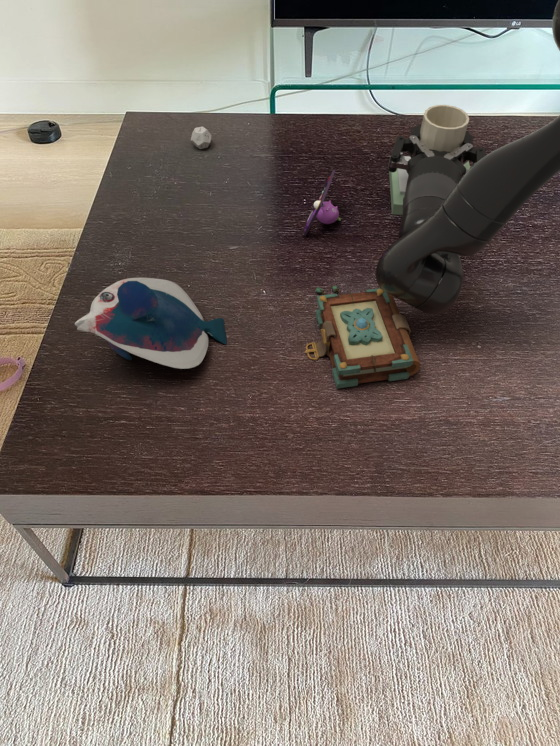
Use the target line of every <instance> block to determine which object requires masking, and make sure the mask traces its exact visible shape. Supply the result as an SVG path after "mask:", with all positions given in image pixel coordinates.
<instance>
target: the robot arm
mask: <svg viewBox="0 0 560 746" xmlns="http://www.w3.org/2000/svg"><path fill="white" fill-rule="evenodd" d="M551 30H552V37H553V40H554V41H553V42H554V43H555V46H556V48H557V50H558V51H559V52H560V0H558V1H557V2H556V5H555V7H554V11H553V14H552V21H551ZM421 125H422V123H417V124H416V126H413V127H411V131H410V135H409V137H408V138H406V137H405V136H403V135H399V136H397V137H396V140H395V143H394V146H393V148H392V151H391V153H390V156H391V157H390V156H389V161H390V163H389V162H388V169H387V171H388V172H389V171H390V172H396V170H397V168H398V169H404V170H406V171H407V173H408V180H407V185H406V190H405V195H404V198H403V215H401V220H400V226H399V231H398V239H397V240H395V241H394V242H393V243H392V244H390V245H389V246H388V247H387V248H386V250H385V251H384V252H383V253H382V255H381V256H380V257H379V259H378V262H377V264H376V267H375V281H376V283H377V286H378V287H379V288H381V289H382V290H384V291H385V292H387V293H388V294H390V295H392V296H393V297H394V298H396V299H397V300H400V301H402V302H403V303H405V304H407V305H408V306H411V307H412V308H415V309H416V310H418V311H420V312H421V313H424V314H427V315H430V316H431V315H432V316H436V315H441V314H443V313H445V312H447V311H449V310H450V309H451V308H452V307H453V306H454V305H455V304H456V302H457V301H458V299H459V297H460V295H461V292H462V290H463V285H464V268H463V263H462V260H461V256H463V257H473V256H476V255H478V254H479V253H480V252H481V251H482V250H484V249H485V247H487V245H488V244H489V243H490V242H491V241H492V240H493V239H494V238H495V237H496V235H497V234H498V233H499V232H500V231H501V230H502V229H503V228H504V227H505V226H506V225H507V223H508V222H509V221H510V220H511V219H512V218H513V217H514V215H516V213H517V212H518V211H519V210H520V209H521V208H522V207H523V206H524V205H525V204H526V203H527V202H528V200H529V199H531V198H532V197H533V196H534V195H535V194H536V193H537V192H538V191H539V190H540V189H541V188H542V187H543V186H544V185H545V184H546V183H547V182H549V181H550V180H551V179H552V178H553V177H554V176H555V175H556V174H558V173H559V172H560V115H558V116H557V117H556V118H554V119H552V120H551V121H550V122H549V123H547V124H546V125H544V126H542V127H540V128H538V129H537V130H535V131H533V132H531V133H529V134H527V135H525V136H523V137H521V138H519V139H515V140H513V141H512V142H510V143H509V142H508V143H507V144H505V145H503V146H501V147H498V148H497V149H495V150H493V151H491V152H489V153H487V154H486V149H485V148H484V147H482V146H481V147H480V146H478V147H477V148H476V147H474V145H473V144H474V136H473V134H470V132H471V131H469V130H466V134H465V137H464V141H463V144H462V147H457V148H456V149H454V150H453V151H452V152H446V151H436V150H432V149H429V148H428V147H427V146H426V144H425V143H424V142H421V141H420V140H419V136H420V130H421ZM404 152H405V153H407V155H408V156H410V157H411V159H409V161H406V160H405V157H404V156H405V155H404ZM468 161H469V162H472V165H470V169H468V170H466V167H465V166H464V164H465V163H467V162H468Z"/></svg>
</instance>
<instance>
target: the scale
mask: <svg viewBox="0 0 560 746" xmlns="http://www.w3.org/2000/svg"><path fill="white" fill-rule="evenodd" d="M403 156H404V157H405V160H406V161H409V159H411V157H410V156H409V155H403ZM390 157H391V155H390V156H389V158H390ZM389 163H390V160H389V161H388V164H389ZM464 166H465V167H466V170H468V169H470V167H471V165H470V161H468V162H467V163H465V164H464ZM388 175H389V176H388V178H389V192H390V205H391V206H390V207H391V208H390V209H391V215H394V216H395V215H397V216H402V215H403V198H404V195H405V190H406V185H407V180H408V173H407V171H406V170H404V169H398V168H397V170H396V172H390V171H389V170H388Z"/></svg>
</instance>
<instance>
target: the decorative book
mask: <svg viewBox="0 0 560 746" xmlns="http://www.w3.org/2000/svg"><path fill="white" fill-rule="evenodd" d="M331 289H332V291H333V293H330V294H326V291H325V290H324V289H323V288H321V287H316V288H315V292H316V293H317V294H321V295H316V303H317V308H318V309H315V318H316V321H317V324H318V328H319V329H320V333H321V339H320V341H318V342H315V341H313V342H309V343H307V344H306V346H305V350H304V353H305V354H306V355H307V357H308V358H309V359H310V360H313V361H318V360H319V359H320V358H322V357H324V356H327V357H329V360H330V365H331V367H332V371H331V373H332V377H333V381H334V384H335V388H336V389H343V388H350V387H358V385H359V384H364V383H365V384H366V383H372V382H373V383H374V382H380V381H387V380H388V382H394V381H401V380H408V379H409V377H411V376H413V375H415V374H416V373H418V372H419V371H420V368H421V362H420V360H419V357H418V356H417V353H416V350H415V348H414V345H413V343H412V340H411V338H410V336H411V332H412V330H411V327H410V325H409V323H408V320H407V318H406V316H405V315H403V314H401V313H400V310H399V307H398V305H397V303H396V300H395V297H394V296H392V295H390V294H388V293H387V292H385V291H384V290H382V289H381V288H380V287H379V288H371V289H366V290H365V291H361V292H353V293H352V292H350V293H346V294H345V293H344V294H343V293H342V292H341V291H340V289H339V288H338V286H337V285H332V287H331ZM336 292H338V293H339V294H337V293H336ZM309 346H311V347H312V348H309ZM310 353H313V355H314V357H312V356H311V355H310Z"/></svg>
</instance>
